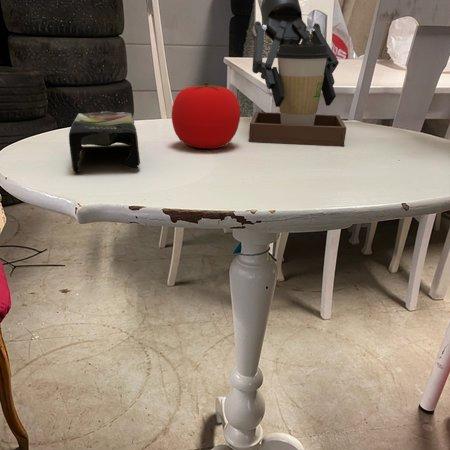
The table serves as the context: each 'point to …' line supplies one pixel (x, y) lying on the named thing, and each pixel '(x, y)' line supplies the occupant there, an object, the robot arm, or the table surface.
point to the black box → (104, 134)
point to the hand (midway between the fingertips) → (306, 101)
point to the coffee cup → (301, 81)
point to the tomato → (205, 116)
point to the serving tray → (297, 130)
